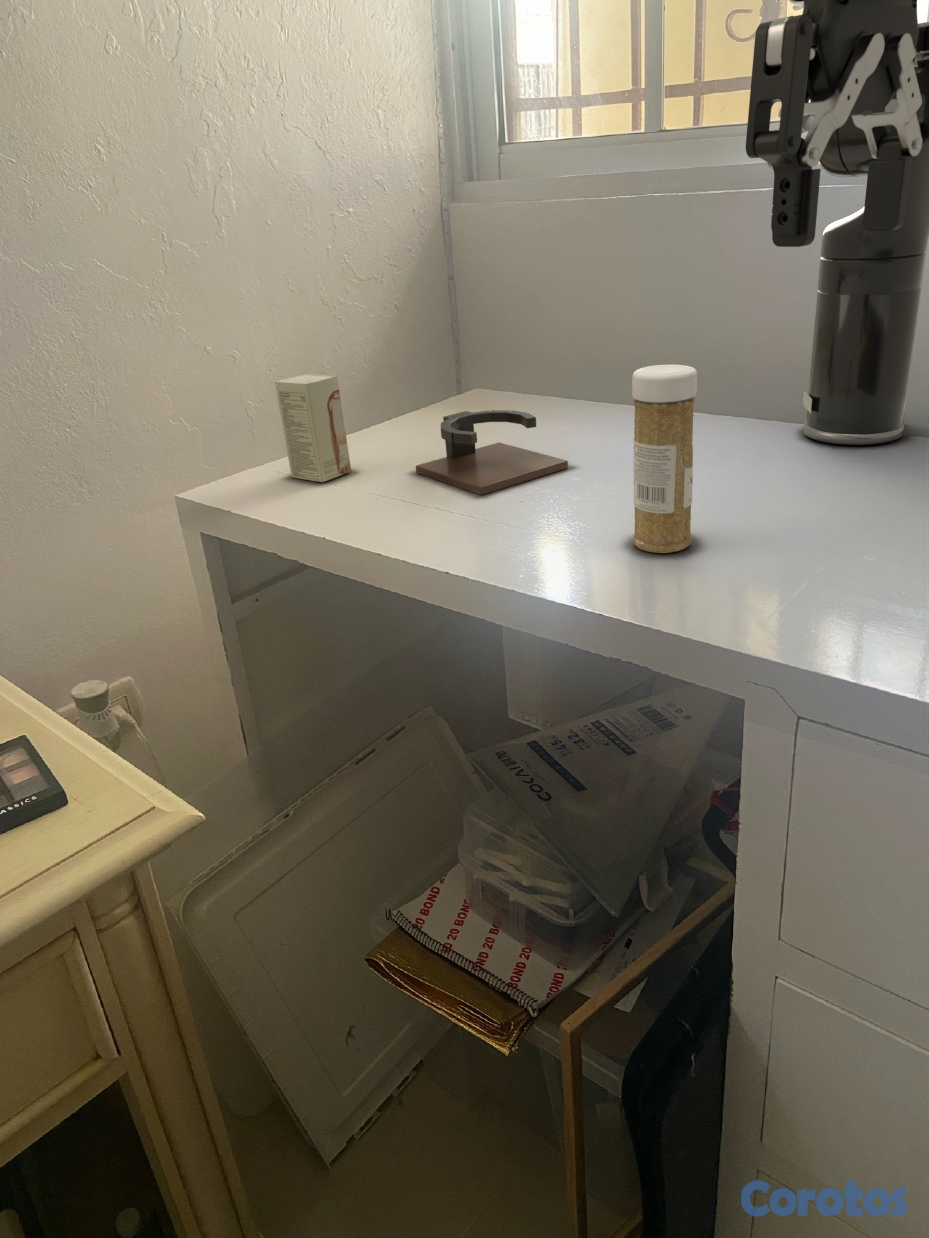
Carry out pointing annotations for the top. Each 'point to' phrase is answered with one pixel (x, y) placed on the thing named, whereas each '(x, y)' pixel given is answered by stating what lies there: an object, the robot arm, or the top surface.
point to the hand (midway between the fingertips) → (839, 237)
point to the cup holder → (486, 455)
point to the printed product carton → (313, 426)
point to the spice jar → (663, 456)
